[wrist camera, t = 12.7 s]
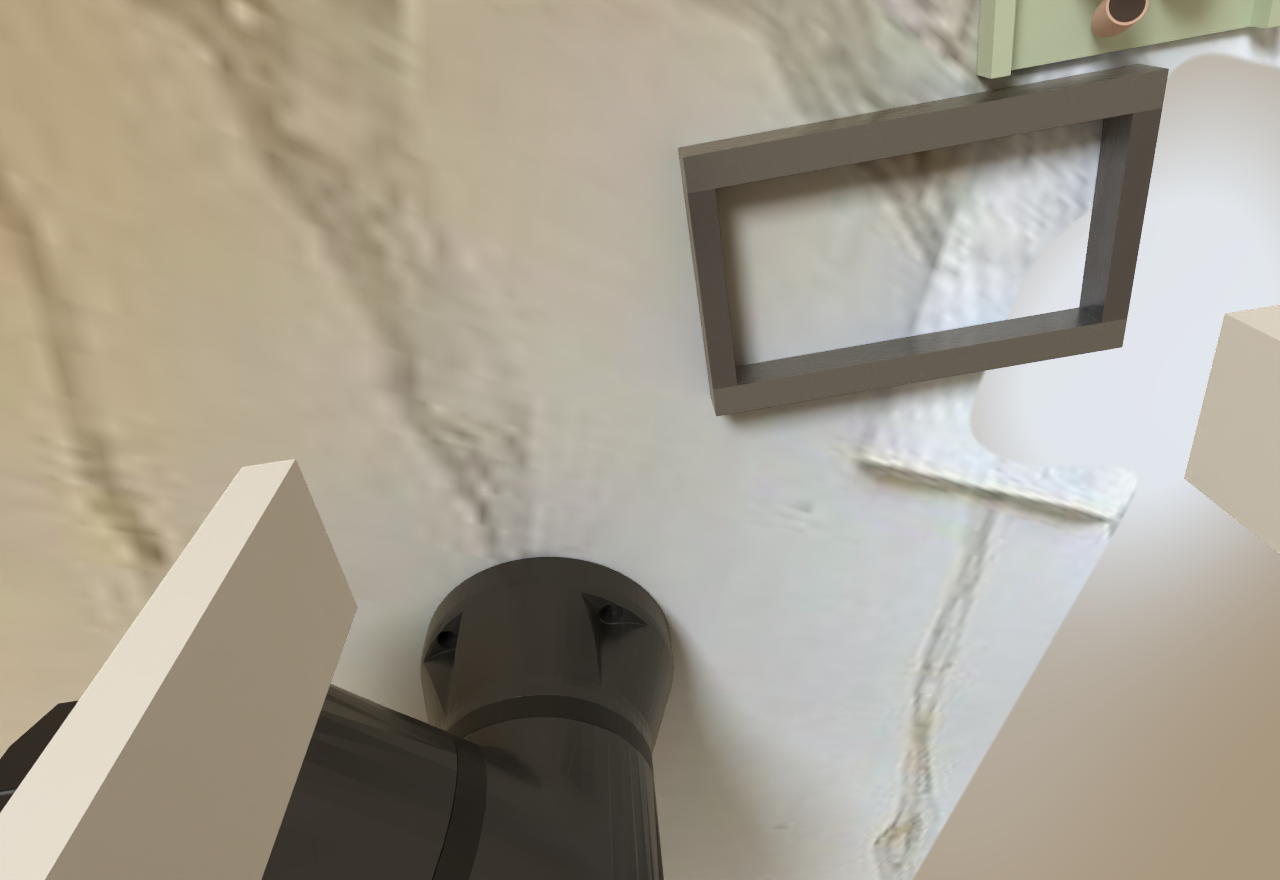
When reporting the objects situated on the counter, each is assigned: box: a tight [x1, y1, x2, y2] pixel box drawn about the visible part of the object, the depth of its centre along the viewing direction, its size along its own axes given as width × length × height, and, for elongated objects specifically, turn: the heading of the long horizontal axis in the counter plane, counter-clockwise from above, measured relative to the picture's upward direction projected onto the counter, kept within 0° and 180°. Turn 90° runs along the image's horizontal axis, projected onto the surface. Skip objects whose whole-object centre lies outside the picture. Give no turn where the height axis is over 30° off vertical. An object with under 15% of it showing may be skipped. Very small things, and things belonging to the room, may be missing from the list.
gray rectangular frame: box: [678, 64, 1169, 416], centre depth 37 cm, size 12×20×2 cm, turn 99°
